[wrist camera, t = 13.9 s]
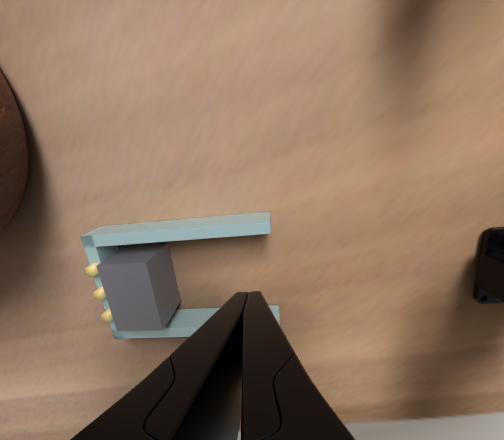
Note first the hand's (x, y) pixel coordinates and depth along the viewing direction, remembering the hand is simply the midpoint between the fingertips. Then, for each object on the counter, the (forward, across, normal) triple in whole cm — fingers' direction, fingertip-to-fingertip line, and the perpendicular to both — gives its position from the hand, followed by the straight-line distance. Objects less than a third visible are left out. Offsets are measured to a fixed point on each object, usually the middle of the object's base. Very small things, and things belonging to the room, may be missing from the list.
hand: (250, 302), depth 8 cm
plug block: (+12, +11, +5) cm, 17 cm away
